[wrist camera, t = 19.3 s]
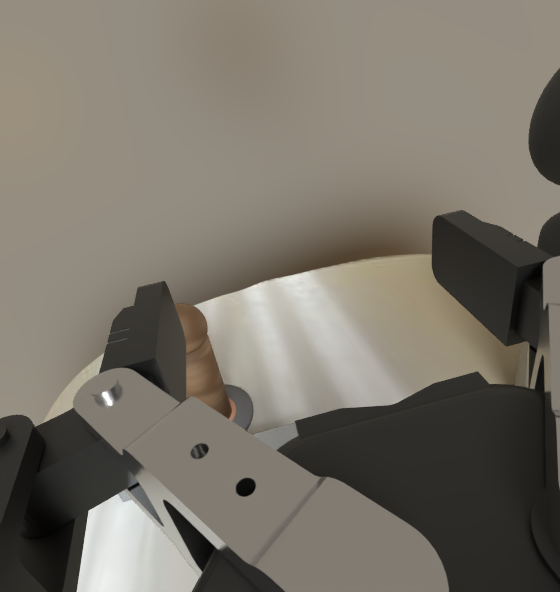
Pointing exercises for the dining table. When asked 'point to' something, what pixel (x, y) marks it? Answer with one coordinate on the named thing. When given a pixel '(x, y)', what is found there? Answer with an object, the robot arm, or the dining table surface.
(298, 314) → the dining table surface
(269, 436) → the low wall
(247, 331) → the dining table surface
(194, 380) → the skittle
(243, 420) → the pad
